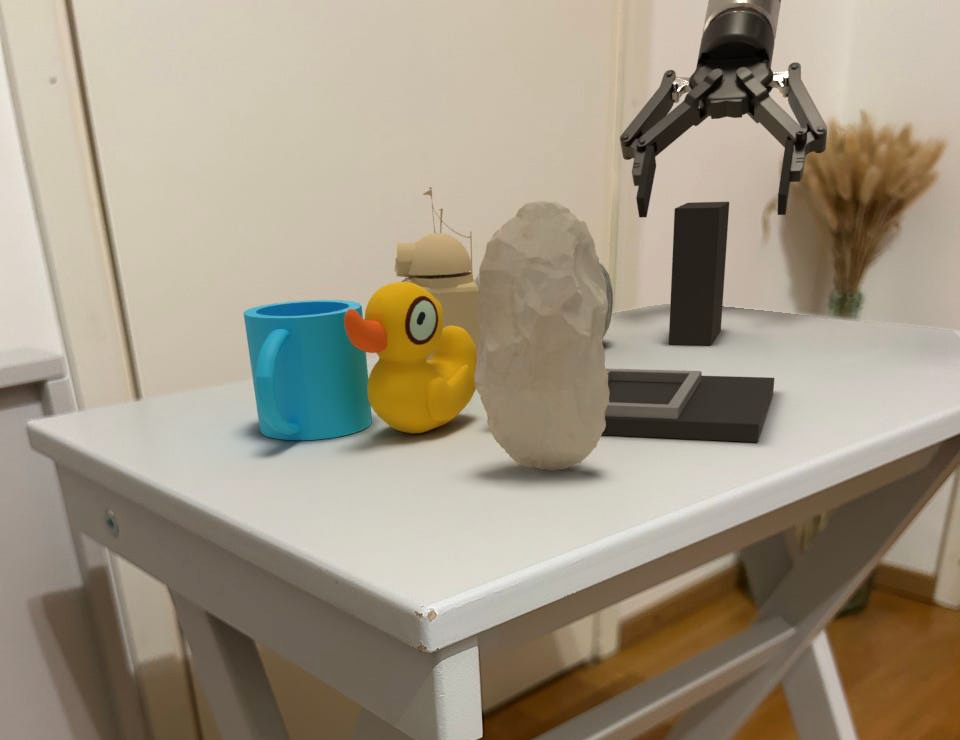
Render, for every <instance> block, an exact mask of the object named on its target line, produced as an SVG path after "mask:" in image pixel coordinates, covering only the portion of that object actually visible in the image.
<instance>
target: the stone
mask: <svg viewBox="0 0 960 740" xmlns="http://www.w3.org/2000/svg"><path fill="white" fill-rule="evenodd" d="M599 263H600V258H599V256H598V254H597V251H596V244H595V240H594V238H593V237H592V234H591V232H590V230H589V227H588V225H587V222H585V220H580V219H579V218H578V216H576V215H575V214H574V213H573V212H572V211H571V210H570V209H569V208H568V207H566V206H565V205H562V204H560V203H559V202H557V201H543V200H542V201H541V200H539V201H538V200H537V201H534V202H526V203H525V204H523V205H522V207H521V208H519V209H518V210H517V212H516V214H515V216H513V217H511V218H510V219H508V220H507V221H506V222H505V223H504V224H503V225H501V227H500V229H497V230H496V231H495V232H494V233H493V234H492V236H491V238H490V239H489V240H488V242H487V243H486V247H485V252H484V256H483V258H482V260H481V262H480V265H479V269H478V270H479V271H478V274H479V273H480V294H479V297H478V300H477V303H476V308H477V311H478V324H479V326H480V329H481V334H480V338H479V350H478V358H477V365H476V370H475V375H474V382H475V388H476V389H475V391H476V392H477V393H478V394H479V396H480V401H481V403H482V405H483V408H484V410H485V412H486V417H487V421H486V424H487V425H488V427H489V431H490V433H491V435H492V437H493V439H494V440H495V442H496V443H498V444H499V446H500V447H501V448H502V449H503V450H504V452H505V453H506V454H508V455H509V457H510V458H512V460H513V461H515V463H516V464H518V465H521V466H525V467H534V468H535V469H539V470H540V469H542V470H545V471H546V470H547V471H554V470H565V469H568V468H570V467H572V466H573V465H578V464H579V465H580V464H582V462H583V461H584V460H585V459H586V458H587V457H589V456H590V454H592V452H593V451H594V449H595V448H597V445H598V443H599V441H601V437H602V436H603V435H602V432H603V431H604V430H605V427H606V422H605V410H606V408H607V405H608V403H609V394H610V392H609V387H608V374H607V371H606V369H607V368H606V350H605V347H604V345H603V344H604V343H603V339H604V337H603V335H604V332H605V319H606V312H607V306H608V300H607V295H606V283H605V279H604V276H603V274H602V272H601V271H600V268H599Z"/></svg>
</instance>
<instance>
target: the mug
mask: <svg viewBox="0 0 960 740" xmlns="http://www.w3.org/2000/svg"><path fill="white" fill-rule="evenodd" d="M349 309H355V310H356V311H357V312H358V313H359V315H360V316H361V318H363V319H364V316H363V315H364V314H363V305H362V304H361V303H360V302H356V301H353V300H342V299H309V300H295V301H285V302H276V303H275V302H274V303H270V304H263V305H257V306H254V307H250V308H248V309H246V310H244V311H243V319H244V326H245V332H246V333H245V334H246V340H247V347H248V355H249V361H250V368H251V376H252V383H253V390H254V396H255V404H256V405H255V406H256V411H257V419H258V425H259V426H258V427H259V432H260V434H262V435H263V436H265V437H268V438H272V439H276V440H284V441H285V440H286V441H316V440H327V439H333V438H338V437H345V436H348V435H352V434H355V433H359V432H361V431H364V430H365V429H367V428H369V427H370V426H371V424H372V423H373V415H372V407H371V405H370V402H369V399H368V393H367V385H368V379H369V371H368V370H369V369H368V360H367V352H365V351H362V350H360V349H358V348H356V347H355V346H354V345H353V344H352V343H351V342H350V340H349V338H348V335H347V333H346V329H345V326H344V318H345V314H346V312H347V311H348V310H349Z"/></svg>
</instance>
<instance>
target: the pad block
mask: <svg viewBox="0 0 960 740" xmlns="http://www.w3.org/2000/svg"><path fill="white" fill-rule="evenodd" d="M673 213H674V214H673V235H672V236H673V238H672V261H671V281H670V283H671V284H670V307H669V324H668V325H669V328H668V345H670V346H671V345H673V346H674V345H675V346H678V345H679V346H712V344H713V343H714V342H715V340H716V338H717V337H718V335H719V334H720V332H721V331H722V321H723V320H722V319H723V305H724V287H725V277H726V276H725V275H726V274H725V273H726V261H727V259H726V258H727V257H726V256H727V247H728V246H727V243H728V230H729V215H730V214H729V213H730V201H708V202H707V201H701V202H698V201H697V202H694V201H693V202H686V203H684V204H682V205H679V206H677V207H675V208H674V212H673Z"/></svg>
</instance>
